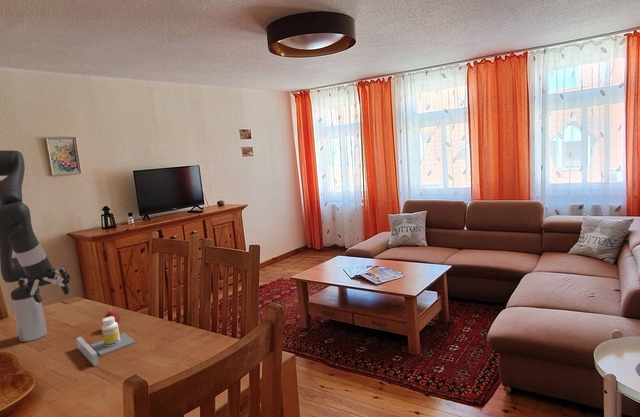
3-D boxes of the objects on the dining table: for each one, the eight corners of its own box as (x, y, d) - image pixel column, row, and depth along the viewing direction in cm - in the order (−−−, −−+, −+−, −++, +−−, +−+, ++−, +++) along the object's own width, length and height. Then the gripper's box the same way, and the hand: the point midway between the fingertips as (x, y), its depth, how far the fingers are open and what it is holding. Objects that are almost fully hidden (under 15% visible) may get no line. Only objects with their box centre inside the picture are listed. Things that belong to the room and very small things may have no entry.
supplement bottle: (108, 340, 149) (104, 316, 148) (122, 339, 150) (119, 314, 149) (101, 347, 144) (97, 322, 143) (117, 345, 145) (113, 320, 143)
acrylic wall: (78, 348, 146) (76, 338, 146) (82, 346, 147) (80, 336, 147) (94, 366, 132) (92, 354, 132) (99, 364, 133) (97, 353, 133)
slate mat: (90, 345, 148) (90, 344, 147) (124, 334, 156) (124, 332, 156) (100, 355, 139) (100, 354, 139) (135, 342, 147) (135, 341, 147)
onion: (114, 331, 159) (111, 312, 158) (102, 331, 160) (99, 312, 159) (124, 325, 164) (121, 307, 163) (112, 325, 166) (109, 306, 164)
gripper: (59, 247, 137) (77, 285, 144) (13, 260, 133) (34, 298, 140) (53, 258, 130) (73, 297, 137) (5, 271, 127) (28, 310, 134)
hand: (53, 297), depth 139 cm, fingers open, 8 cm apart
